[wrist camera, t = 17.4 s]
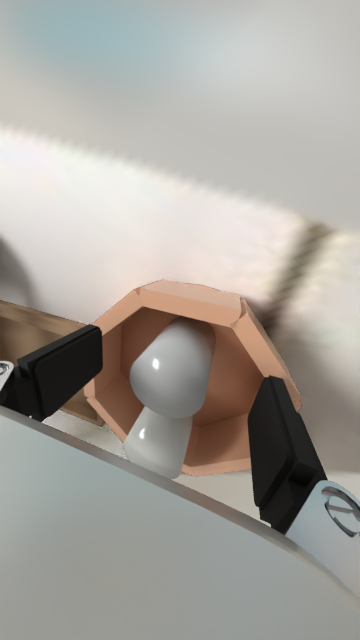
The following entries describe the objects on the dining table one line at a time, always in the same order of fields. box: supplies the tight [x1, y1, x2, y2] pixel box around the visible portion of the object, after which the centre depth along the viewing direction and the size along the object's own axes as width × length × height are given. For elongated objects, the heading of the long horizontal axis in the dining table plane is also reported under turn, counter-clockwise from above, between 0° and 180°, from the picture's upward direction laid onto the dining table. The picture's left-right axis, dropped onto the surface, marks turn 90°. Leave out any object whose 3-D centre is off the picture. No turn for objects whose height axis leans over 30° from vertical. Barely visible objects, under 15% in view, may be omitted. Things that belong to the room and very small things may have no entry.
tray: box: [0, 300, 106, 427], centre depth 20 cm, size 16×11×2 cm
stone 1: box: [130, 316, 216, 418], centre depth 11 cm, size 4×4×6 cm
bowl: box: [84, 280, 302, 476], centre depth 14 cm, size 14×14×4 cm
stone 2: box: [123, 406, 196, 480], centre depth 14 cm, size 4×4×6 cm
